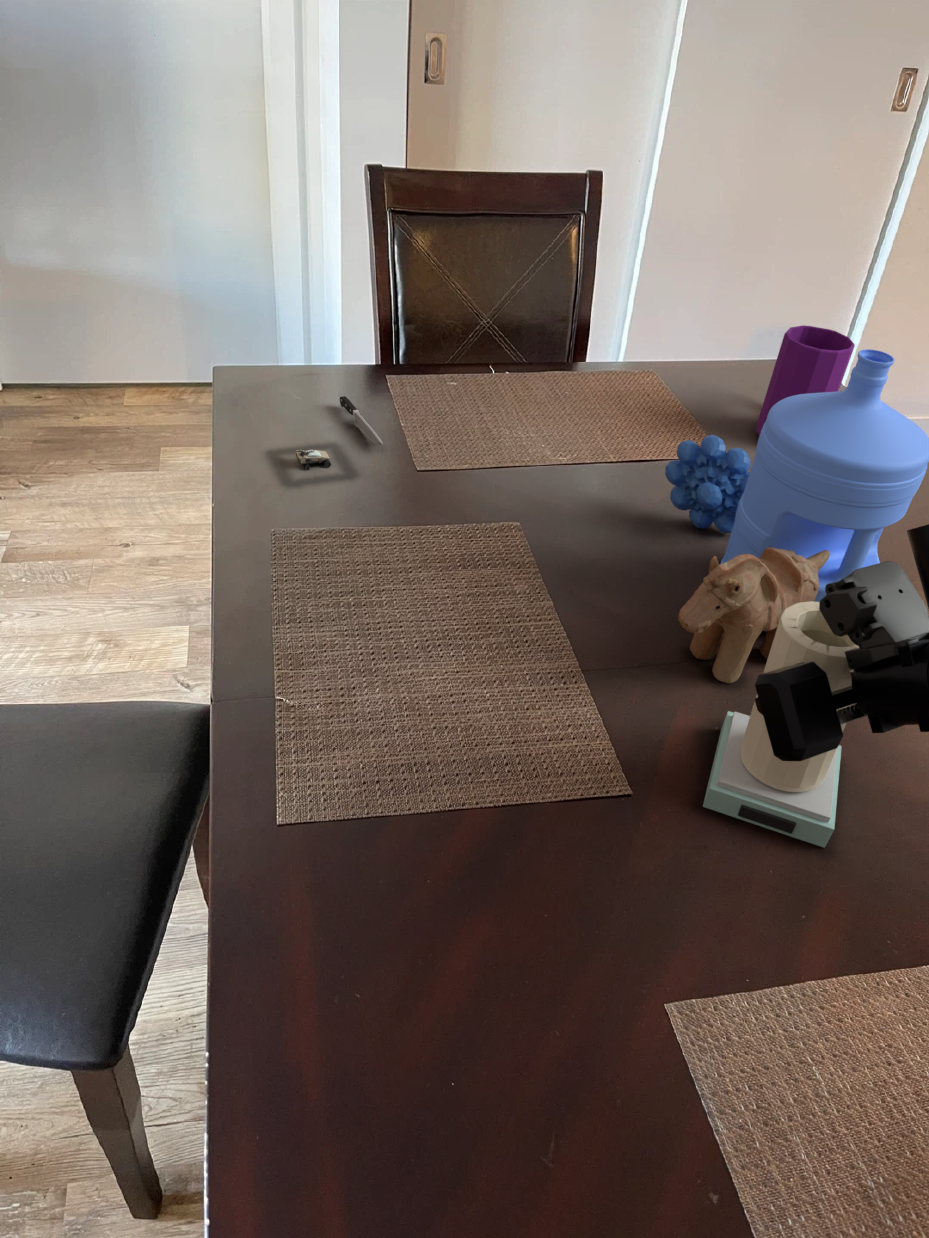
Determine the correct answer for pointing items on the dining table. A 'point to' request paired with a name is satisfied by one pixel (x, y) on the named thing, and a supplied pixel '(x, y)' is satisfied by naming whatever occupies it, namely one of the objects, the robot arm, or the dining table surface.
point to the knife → (360, 421)
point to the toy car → (313, 458)
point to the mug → (807, 365)
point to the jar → (793, 643)
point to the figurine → (746, 605)
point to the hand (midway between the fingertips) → (793, 692)
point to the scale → (769, 792)
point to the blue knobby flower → (708, 481)
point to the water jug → (831, 474)
